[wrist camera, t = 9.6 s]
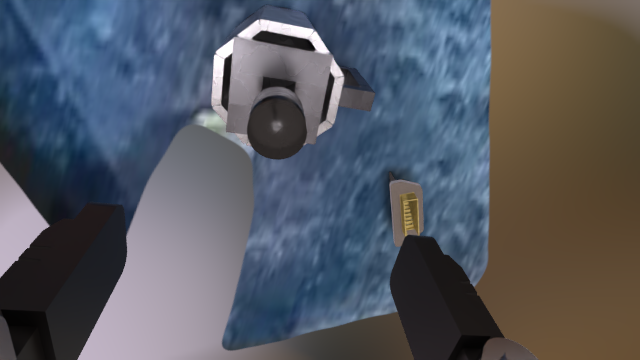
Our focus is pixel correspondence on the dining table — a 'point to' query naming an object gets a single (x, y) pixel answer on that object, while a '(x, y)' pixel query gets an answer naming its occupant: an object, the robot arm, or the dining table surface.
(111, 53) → the dining table surface
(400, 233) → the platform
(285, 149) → the plunger
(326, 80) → the press pot
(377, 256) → the dining table surface
